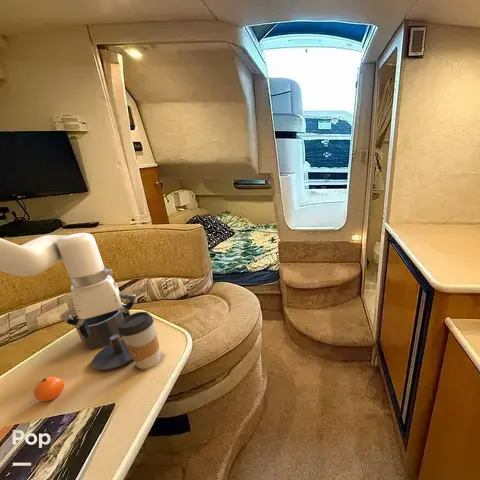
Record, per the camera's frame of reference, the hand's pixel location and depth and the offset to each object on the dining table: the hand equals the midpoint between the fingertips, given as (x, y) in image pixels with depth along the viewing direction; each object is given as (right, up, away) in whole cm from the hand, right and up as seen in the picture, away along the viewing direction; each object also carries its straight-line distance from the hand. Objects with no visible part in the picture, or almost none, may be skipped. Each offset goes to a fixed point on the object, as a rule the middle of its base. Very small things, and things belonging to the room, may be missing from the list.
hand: (108, 328), depth 80 cm
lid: (+1, -9, +3) cm, 9 cm away
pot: (-10, -7, +13) cm, 18 cm away
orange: (-7, -15, -10) cm, 19 cm away
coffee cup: (+12, -10, 0) cm, 16 cm away
